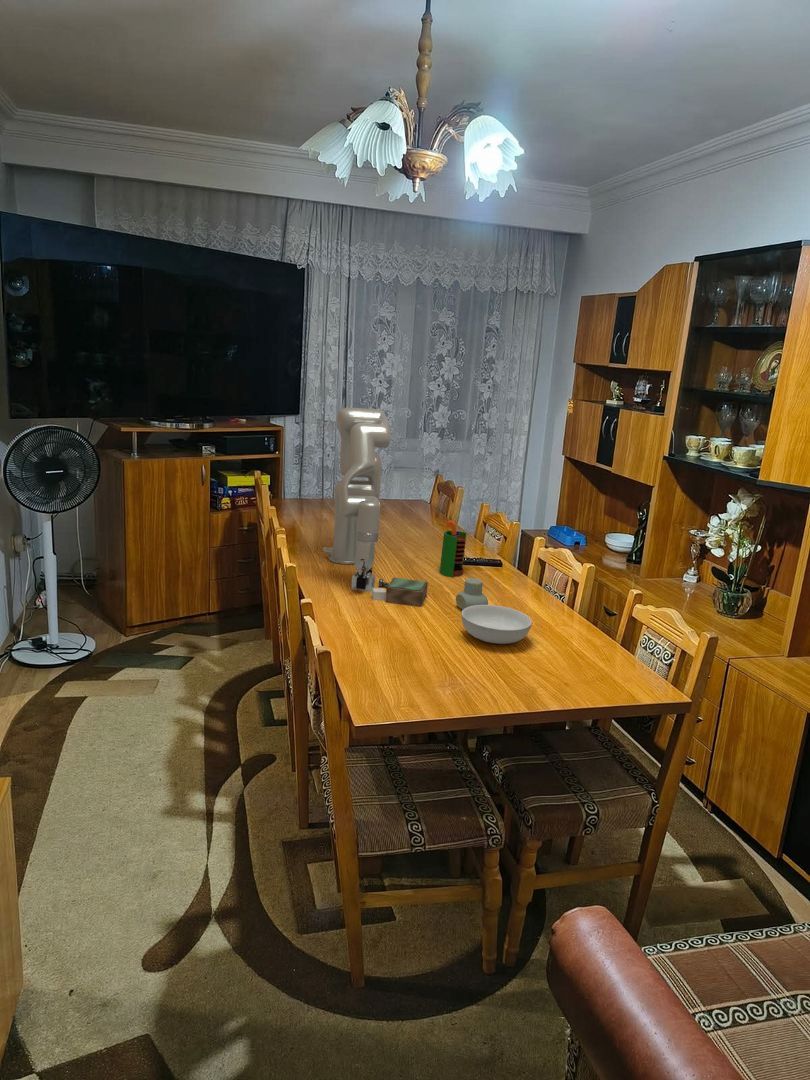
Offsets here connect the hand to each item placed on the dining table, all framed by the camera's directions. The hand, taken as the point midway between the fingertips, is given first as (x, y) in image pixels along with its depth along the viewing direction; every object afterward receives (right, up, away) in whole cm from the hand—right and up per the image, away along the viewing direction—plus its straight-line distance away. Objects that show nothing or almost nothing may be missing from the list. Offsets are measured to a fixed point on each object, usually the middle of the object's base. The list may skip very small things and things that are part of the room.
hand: (363, 584), depth 258 cm
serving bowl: (+41, -14, -35) cm, 56 cm away
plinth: (+15, -4, -7) cm, 17 cm away
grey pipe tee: (+36, -8, -12) cm, 39 cm away
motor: (+32, +2, +27) cm, 42 cm away
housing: (0, -2, 0) cm, 2 cm away
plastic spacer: (+5, -4, -8) cm, 11 cm away
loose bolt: (+9, -1, +4) cm, 10 cm away
